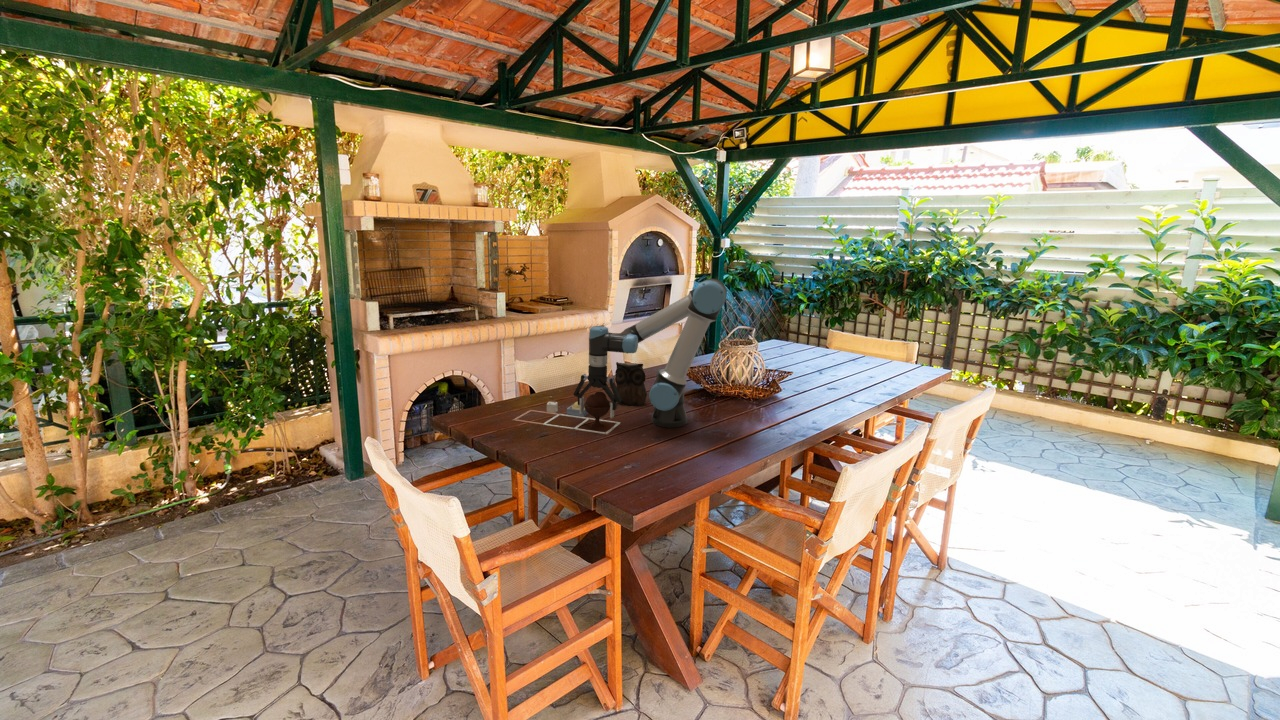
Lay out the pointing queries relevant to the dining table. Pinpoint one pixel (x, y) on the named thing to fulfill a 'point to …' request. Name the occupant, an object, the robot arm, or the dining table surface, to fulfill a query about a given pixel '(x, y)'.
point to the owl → (631, 384)
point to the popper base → (575, 412)
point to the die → (552, 407)
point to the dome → (576, 406)
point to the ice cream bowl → (597, 407)
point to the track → (567, 427)
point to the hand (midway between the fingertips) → (596, 415)
